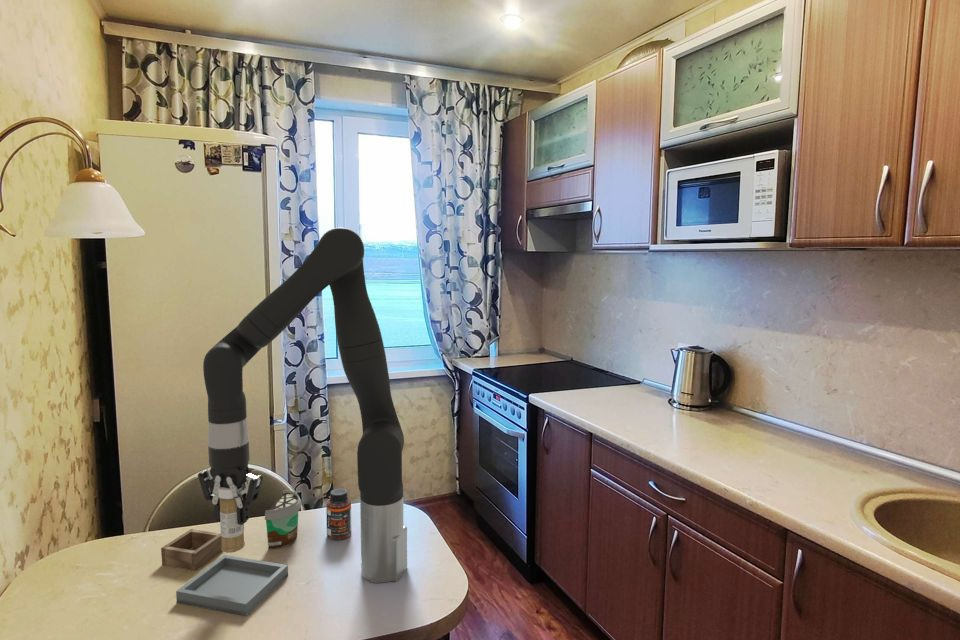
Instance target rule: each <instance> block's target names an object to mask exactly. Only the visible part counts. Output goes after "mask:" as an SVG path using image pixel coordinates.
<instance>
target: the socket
mask: <svg viewBox="0 0 960 640" xmlns="http://www.w3.org/2000/svg"><path fill="white" fill-rule="evenodd" d="M221 547H222V541H221V532H213V531H206V530H200V529H193V528H191V529H188V530H187V531H186V532H184V533H183V534H181V535H180V536H178V537H176V538H175V539H173V540H171V541H170V542H168V543H167V544H165V545H163V546H162V547H160V554H161V566H166V567H172V568H178V569H182V570H187V571H188V570H189V571H193V572H194V571H195V572H197V571H198V570H199V569H201V568H203V567H204V566H205V565H206V564H208V563H209V562H210V561H212V560H213V559H215V558H216V557H217V556H218V555H220V554H222V552H223V551H222V549H221ZM192 548H193V549H195V550H193V549H192Z"/></svg>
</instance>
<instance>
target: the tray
mask: <svg viewBox="0 0 960 640" xmlns="http://www.w3.org/2000/svg"><path fill="white" fill-rule="evenodd" d="M288 577H289V565H287V564H282V563H276V562H271V561H265V560H257V559H252V558H246V557H239V556H234V555H227V554H223V555H222V556H221V557H220V558H218V559H217V560H216V561H214V562H213V563H212V564H210V565H209V566H207V567H206V568H204V570H202V571H201V572H199V573H198V574H197V575H195V576H194V577H193V578H191V579H190V580H189V581H188V582H186V583H185V584H184V585H182V586H181V587H179V588H178V589H177V590H175V600H176V604H181V605H187V606H191V607H196V608H202V609H206V610H211V611H218V612H223V613H227V614H233V615H238V616H242V617H243V616H244V617H247V616H249V614H250V613H252V612H253V610H255V609H256V608H257V607H258V606H259V605H260V603H262V602H263V601H264V600H265V599H266V598H267V597H268V596H269V595H270V594H271V593H273V592H274V590H275V589H276V588H277V587H278V586H279V585H281V584H282V582H284V581H285V580H286V579H287V578H288Z"/></svg>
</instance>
